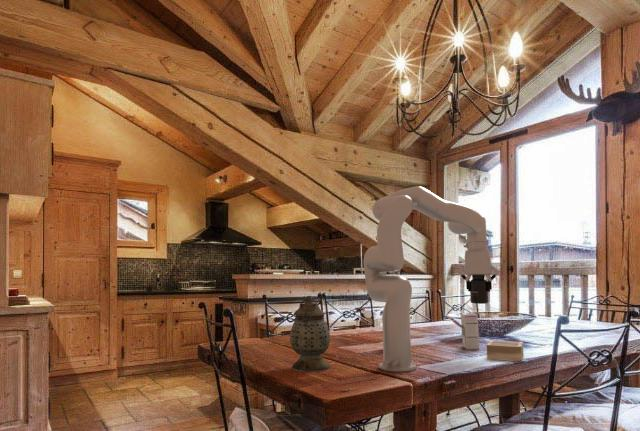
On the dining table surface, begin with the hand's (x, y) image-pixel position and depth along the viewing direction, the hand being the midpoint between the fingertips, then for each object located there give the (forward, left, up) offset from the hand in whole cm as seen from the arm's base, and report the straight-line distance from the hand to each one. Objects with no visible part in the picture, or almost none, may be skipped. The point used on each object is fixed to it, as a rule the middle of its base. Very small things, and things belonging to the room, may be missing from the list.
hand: (479, 291), depth 190 cm
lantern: (-49, +51, -25) cm, 75 cm away
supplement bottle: (0, 0, -5) cm, 5 cm away
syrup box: (+12, +6, -25) cm, 28 cm away
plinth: (-3, -9, -25) cm, 26 cm away
